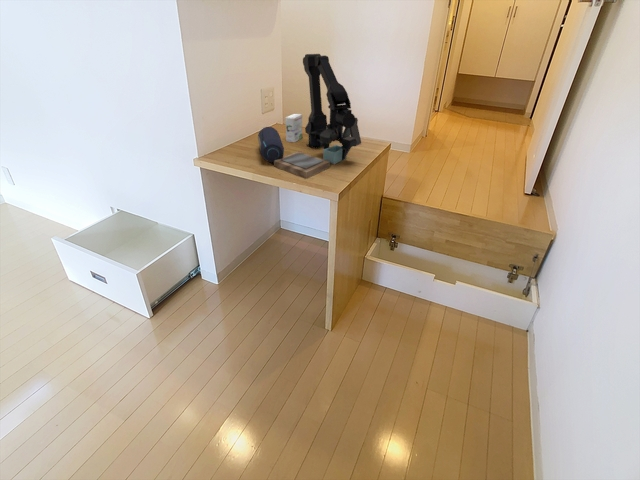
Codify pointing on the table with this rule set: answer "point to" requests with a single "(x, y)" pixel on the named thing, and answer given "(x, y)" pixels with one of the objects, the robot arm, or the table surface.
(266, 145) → the portable speaker
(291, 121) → the ink box
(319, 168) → the walnut stand
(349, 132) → the phone stand
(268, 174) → the table surface
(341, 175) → the table surface
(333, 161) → the box
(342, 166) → the table surface
